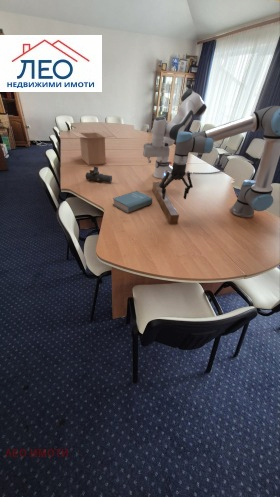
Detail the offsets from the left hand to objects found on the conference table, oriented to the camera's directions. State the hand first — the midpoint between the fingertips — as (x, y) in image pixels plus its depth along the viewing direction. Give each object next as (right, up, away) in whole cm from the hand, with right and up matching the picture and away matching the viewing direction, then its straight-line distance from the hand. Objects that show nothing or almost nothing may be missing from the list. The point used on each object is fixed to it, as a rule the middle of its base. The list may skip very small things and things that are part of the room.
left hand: (155, 162), depth 168 cm
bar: (+5, -33, -7) cm, 34 cm away
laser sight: (-47, -7, +22) cm, 53 cm away
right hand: (+9, -35, -32) cm, 48 cm away
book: (-17, -34, -11) cm, 40 cm away
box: (-62, +28, +69) cm, 97 cm away
